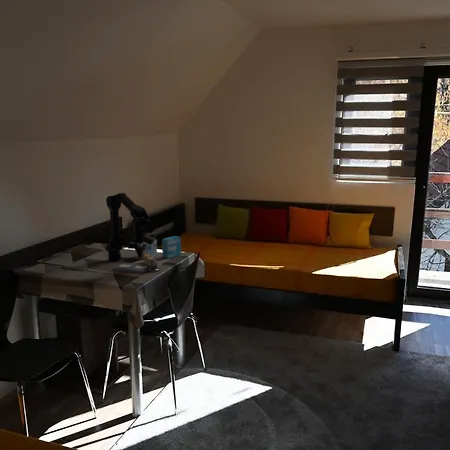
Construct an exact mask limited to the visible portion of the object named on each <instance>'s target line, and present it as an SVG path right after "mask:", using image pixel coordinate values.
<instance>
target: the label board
mask: <svg viewBox="0 0 450 450" xmlns="http://www.w3.org/2000/svg"><path fill="white" fill-rule="evenodd" d="M149 268H151V267H150V266H149V265H148V264H143V263H133V262H130V263H129V262H122V263H119V264H118V265H116V266H114V267H112V271H114V272H115V271H117V272H128V273H137V274H138V273H139V274H144V273H146V272H149Z"/></svg>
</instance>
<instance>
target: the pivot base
mask: <svg viewBox="0 0 450 450" xmlns="http://www.w3.org/2000/svg"><path fill="white" fill-rule="evenodd" d="M148 272H150V273H157V272H160V267H157V269H151V268H149V270H148Z"/></svg>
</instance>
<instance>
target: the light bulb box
mask: <svg viewBox="0 0 450 450" xmlns="http://www.w3.org/2000/svg"><path fill="white" fill-rule="evenodd" d="M155 239H156V238H155ZM145 244H147V246H146V247H145V248H144V250H143V253H146V252H147V253H148V254H150V255H151V256H152V257H153V258H154V257H157V256H158V239H156V240H154V243H153V244H151V245H149V244H148V243H145ZM140 259H142V257H141V258H140Z"/></svg>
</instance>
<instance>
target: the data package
mask: <svg viewBox="0 0 450 450" xmlns="http://www.w3.org/2000/svg"><path fill="white" fill-rule="evenodd" d="M181 242H182V238H181V237H180V236H178V235H177V236H176V235H173V236H169V237H166V238H162V239H161V243H162V244H161V247H162V248H161V249H162V258H166V259H173V258H176V257H179V256H181V254H182V243H181ZM178 255H179V256H178ZM175 256H176V257H175ZM172 257H173V258H172Z"/></svg>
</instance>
